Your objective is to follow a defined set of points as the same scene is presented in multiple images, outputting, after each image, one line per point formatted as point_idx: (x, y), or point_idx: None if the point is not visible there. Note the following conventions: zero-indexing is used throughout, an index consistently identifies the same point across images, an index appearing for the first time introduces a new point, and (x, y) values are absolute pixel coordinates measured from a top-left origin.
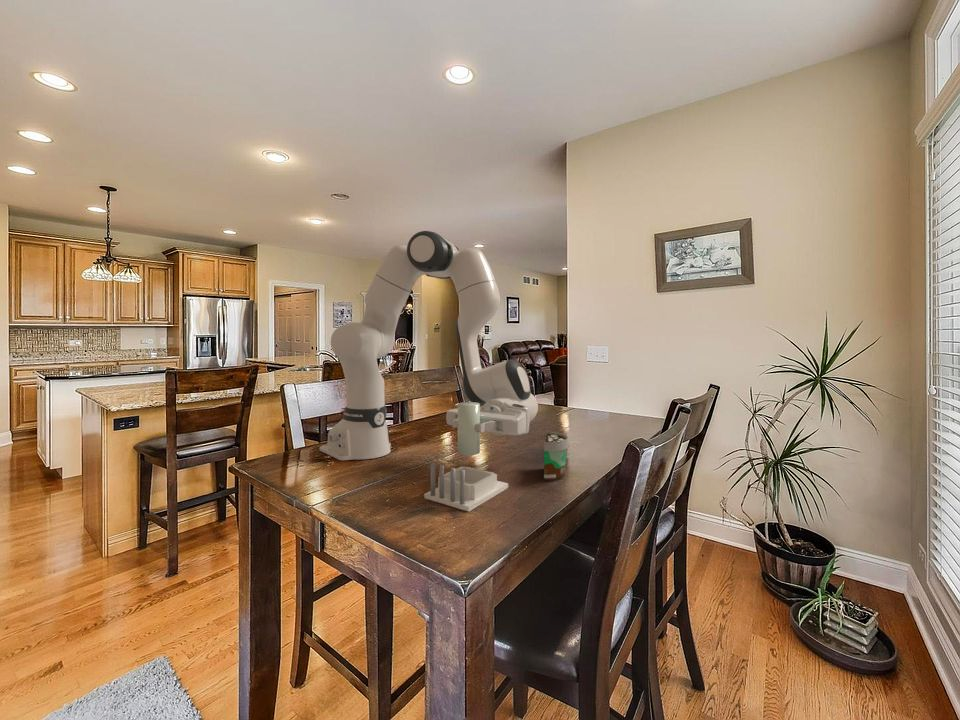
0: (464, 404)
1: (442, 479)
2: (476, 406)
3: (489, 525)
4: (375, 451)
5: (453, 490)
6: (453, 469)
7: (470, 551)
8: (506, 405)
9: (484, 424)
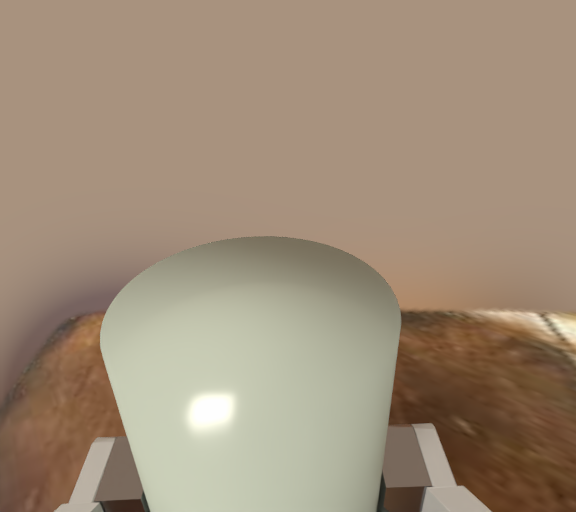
0: (275, 270)
1: None
2: (121, 304)
3: (72, 482)
4: None
5: None
6: None
7: (87, 367)
8: None
9: (78, 491)
